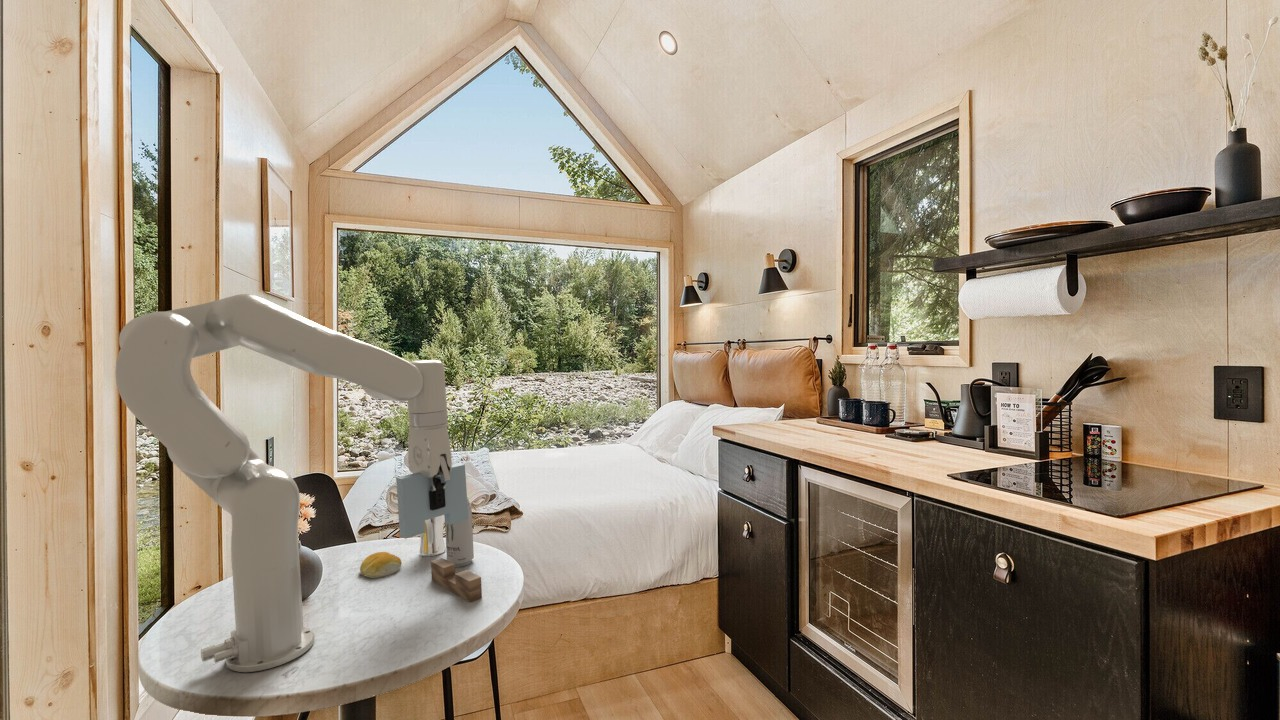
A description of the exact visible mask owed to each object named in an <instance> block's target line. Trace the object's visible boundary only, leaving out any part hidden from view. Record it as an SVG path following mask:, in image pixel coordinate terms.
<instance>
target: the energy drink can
mask: <svg viewBox="0 0 1280 720" xmlns="http://www.w3.org/2000/svg"><path fill="white" fill-rule="evenodd" d="M467 506H468V519H467V520H464V521H461V522H458V523H455V524H451V525H450V524H447V523H445V522H444V527H445V531H444V532H445V551H446V560H447V561H449V562H452V563H454V564H455V568H460V567H464V566H468V565H469V564H471V563H472V561H473V559H474V555H475V554H474V551H475V550H474V535H473V534H474V533H473V530H474V529H473V511H472V509H473V507H472V504H471V502H470V499H469V497H468V496H467Z"/></svg>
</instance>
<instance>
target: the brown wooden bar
mask: <svg viewBox="0 0 1280 720" xmlns="http://www.w3.org/2000/svg"><path fill="white" fill-rule="evenodd" d="M430 573H431V582H434V583H436V584H437V585H439V586H441V587H443V589H444V588H445V589H447V590H448V591H449V592H452V593H454V595H455V594H456V595H457V596H459V597H461V598H462V599H464V600H466V601H468V602H470V603H471V602H474V601H477V600H479V599H482V597H483V592H482V576H480V575H478V574H476V573H474V572H472V571H470V570H468V569H465V570H463V571H460V572H458V573H456V567H455V564H454V563H452V562H449V561H447V559H445V558H444V557H440V558H436V559H434V560H430Z"/></svg>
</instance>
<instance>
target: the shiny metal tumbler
mask: <svg viewBox="0 0 1280 720" xmlns="http://www.w3.org/2000/svg"><path fill="white" fill-rule="evenodd" d="M444 527H445V519H444V515H442V516H438V517H435V518H432V519H428V520H425V531H426V533H422V534H419V537H420V545H419V551H418V552H419V555H420V557H421V556H422V557H435V556H439V555H441V554H443V553H445V551H446V544H445V542H444Z"/></svg>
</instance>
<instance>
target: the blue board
mask: <svg viewBox="0 0 1280 720" xmlns="http://www.w3.org/2000/svg"><path fill="white" fill-rule="evenodd" d="M437 474H440V471H439V472H438V473H437ZM449 475H450V480H449V481H448V482H446V488H445V503H446V506H445V507H443V508H440V509H436V510H430V501H429V491H431V488H430V478H427V477H424V476H422V474H418V473H414V474H413V473H410V474H406V475H401V476H396V477H395V481H396V483H395V484H396V497H397V498H396V499H397V510H398V526H399V537H401V538H404V539H410V538H412V537H416V536H420V534H422V533H426V531H425V520H428V519H432V518H435V517H438V516H442V515H444V519H445V522H444V524H445V523H447V524H450V525H451V524H455V523H458V522H461V521H464V520H467V519H468V506H467V497H468V496H467V495H468V493H467V477H466V476H467V475H466V465H465V464H464V463H460V462H459V463H454V464H453V463H452V469H451V472H450V473H449ZM437 479H439V478H435V482H436V480H437Z"/></svg>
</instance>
